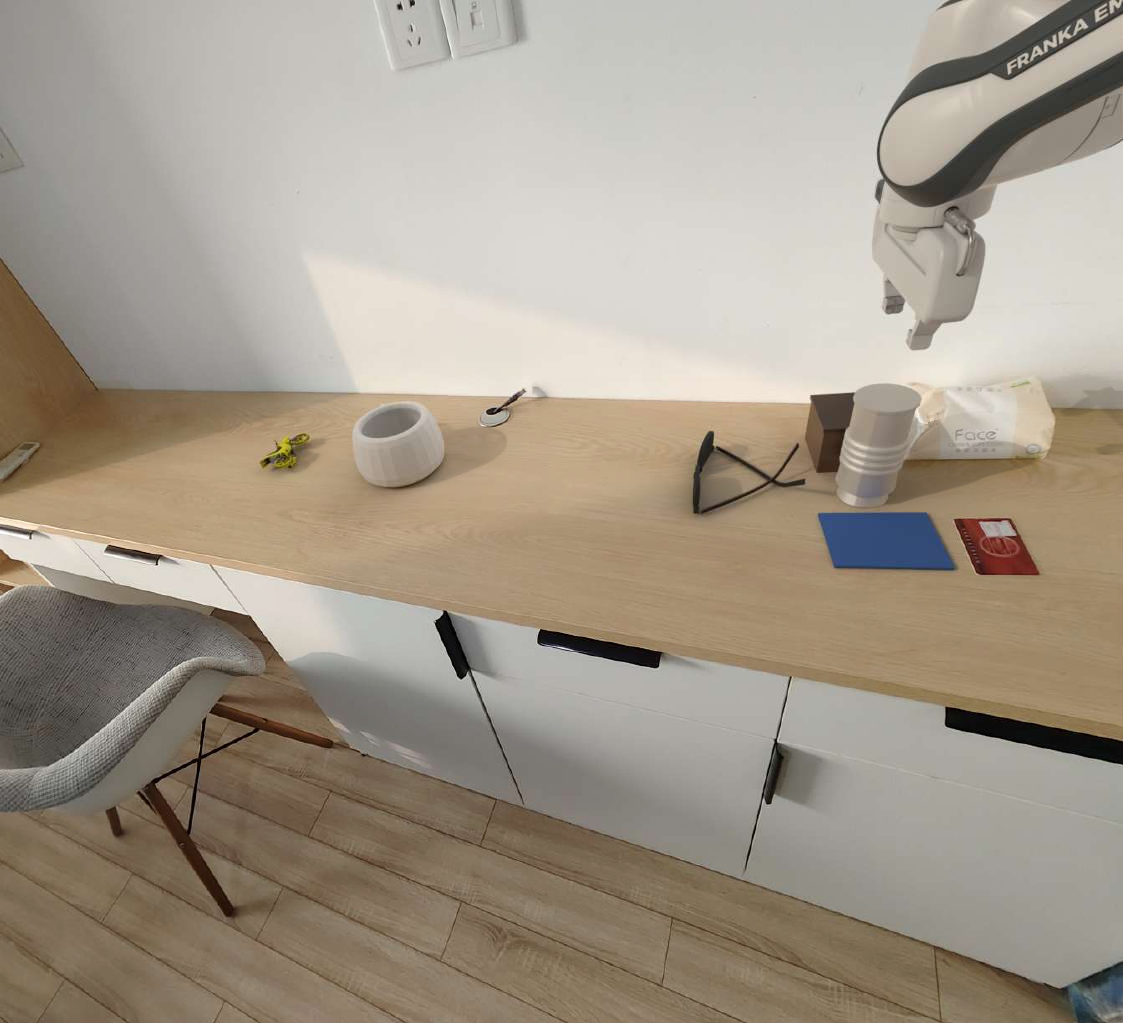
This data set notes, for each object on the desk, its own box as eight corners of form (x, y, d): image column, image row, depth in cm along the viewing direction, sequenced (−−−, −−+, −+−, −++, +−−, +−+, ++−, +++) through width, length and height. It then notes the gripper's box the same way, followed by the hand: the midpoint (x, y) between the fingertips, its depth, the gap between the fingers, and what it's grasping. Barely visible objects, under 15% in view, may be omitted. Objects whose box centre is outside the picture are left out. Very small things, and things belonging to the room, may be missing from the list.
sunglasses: (799, 527, 80) (805, 498, 77) (684, 514, 87) (684, 487, 84) (804, 455, 91) (809, 427, 88) (701, 448, 98) (702, 422, 95)
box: (874, 434, 91) (885, 390, 87) (892, 471, 85) (905, 425, 80) (803, 437, 94) (810, 394, 90) (815, 473, 88) (823, 429, 83)
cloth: (925, 514, 77) (926, 512, 77) (954, 570, 70) (955, 567, 70) (817, 514, 81) (818, 512, 81) (834, 567, 74) (834, 565, 74)
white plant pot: (458, 473, 108) (446, 425, 101) (368, 504, 106) (351, 457, 100) (430, 421, 125) (418, 377, 118) (352, 446, 123) (336, 403, 117)
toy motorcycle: (284, 459, 118) (253, 461, 120) (291, 474, 120) (261, 476, 122) (308, 425, 126) (279, 428, 129) (315, 441, 129) (287, 443, 131)
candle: (852, 472, 86) (875, 377, 77) (904, 493, 81) (935, 394, 72) (820, 494, 84) (839, 399, 75) (871, 517, 79) (899, 418, 70)
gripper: (1024, 220, 51) (974, 369, 59) (940, 165, 66) (909, 291, 74) (933, 232, 53) (897, 374, 61) (871, 176, 68) (849, 297, 76)
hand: (903, 328), depth 68 cm, fingers open, 8 cm apart
